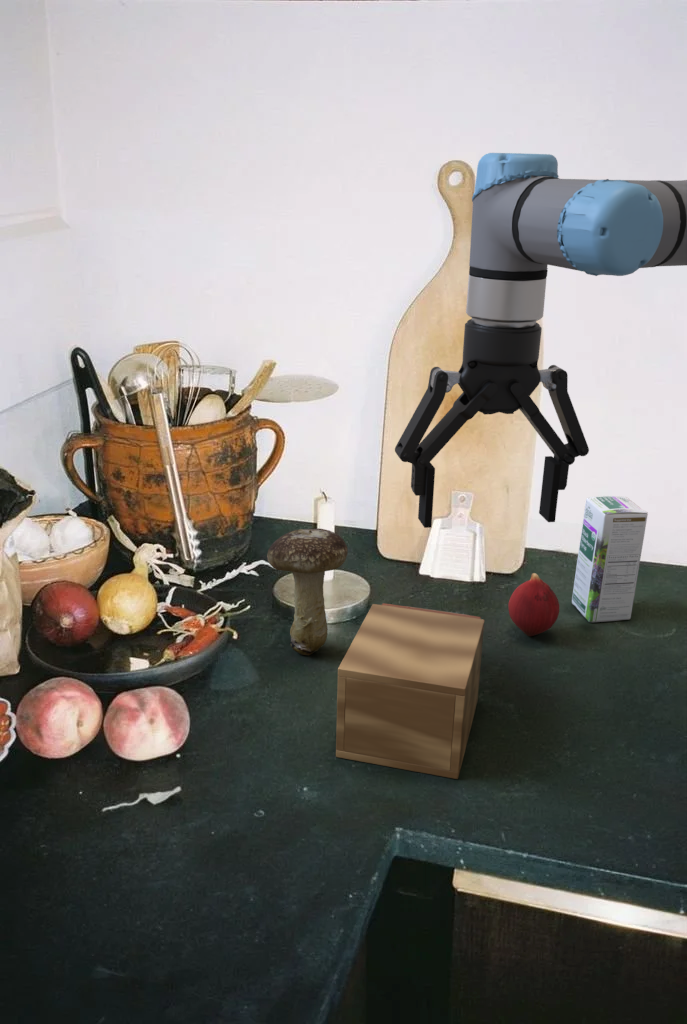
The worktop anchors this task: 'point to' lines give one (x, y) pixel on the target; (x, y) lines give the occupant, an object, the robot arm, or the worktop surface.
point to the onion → (533, 606)
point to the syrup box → (608, 558)
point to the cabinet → (409, 690)
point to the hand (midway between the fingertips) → (486, 520)
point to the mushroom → (308, 580)
